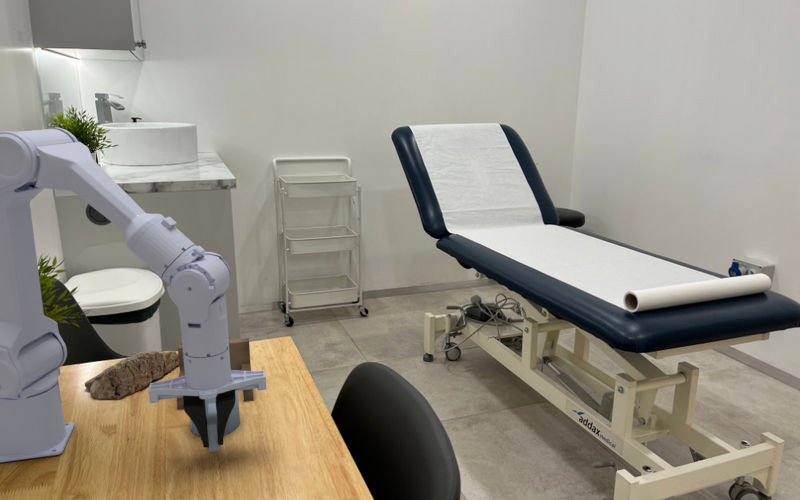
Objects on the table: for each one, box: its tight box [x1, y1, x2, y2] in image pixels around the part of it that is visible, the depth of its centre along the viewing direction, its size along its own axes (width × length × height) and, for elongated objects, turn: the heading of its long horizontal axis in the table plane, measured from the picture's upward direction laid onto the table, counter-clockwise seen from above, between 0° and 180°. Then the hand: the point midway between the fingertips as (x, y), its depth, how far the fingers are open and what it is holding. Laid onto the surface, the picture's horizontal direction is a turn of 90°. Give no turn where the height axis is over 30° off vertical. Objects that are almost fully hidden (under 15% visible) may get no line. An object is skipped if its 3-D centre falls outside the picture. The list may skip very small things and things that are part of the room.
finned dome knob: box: [189, 391, 241, 453], centre depth 86 cm, size 7×13×6 cm, turn 16°
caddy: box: [176, 337, 254, 410], centre depth 99 cm, size 12×9×7 cm
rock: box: [84, 350, 179, 400], centre depth 103 cm, size 15×10×6 cm
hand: (213, 442), depth 81 cm, fingers closed on finned dome knob
